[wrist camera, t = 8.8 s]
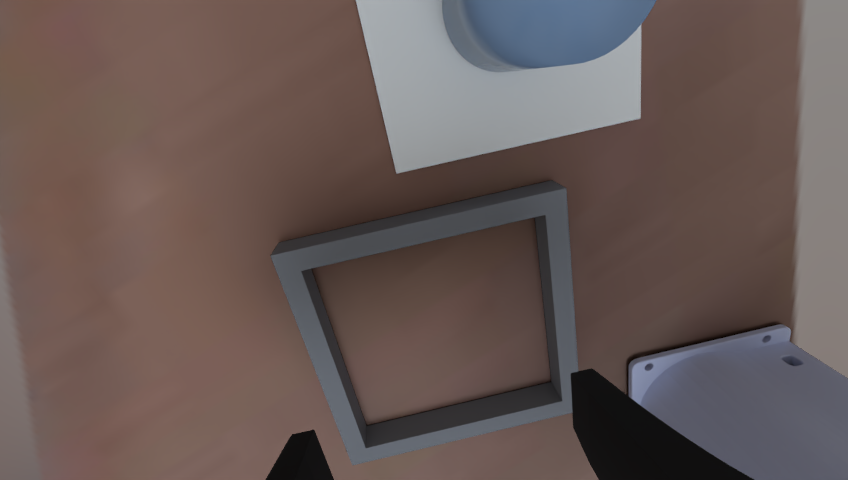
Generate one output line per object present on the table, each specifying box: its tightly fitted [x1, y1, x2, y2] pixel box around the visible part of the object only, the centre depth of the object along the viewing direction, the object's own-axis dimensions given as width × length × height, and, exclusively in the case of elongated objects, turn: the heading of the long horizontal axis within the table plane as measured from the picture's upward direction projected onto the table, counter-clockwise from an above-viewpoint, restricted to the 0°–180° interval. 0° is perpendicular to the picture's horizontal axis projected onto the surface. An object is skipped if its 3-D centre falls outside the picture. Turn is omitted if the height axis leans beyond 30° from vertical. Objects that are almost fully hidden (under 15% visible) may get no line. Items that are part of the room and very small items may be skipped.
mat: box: [356, 0, 641, 174], centre depth 15 cm, size 11×11×1 cm
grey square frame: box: [271, 180, 578, 465], centre depth 20 cm, size 13×13×2 cm
